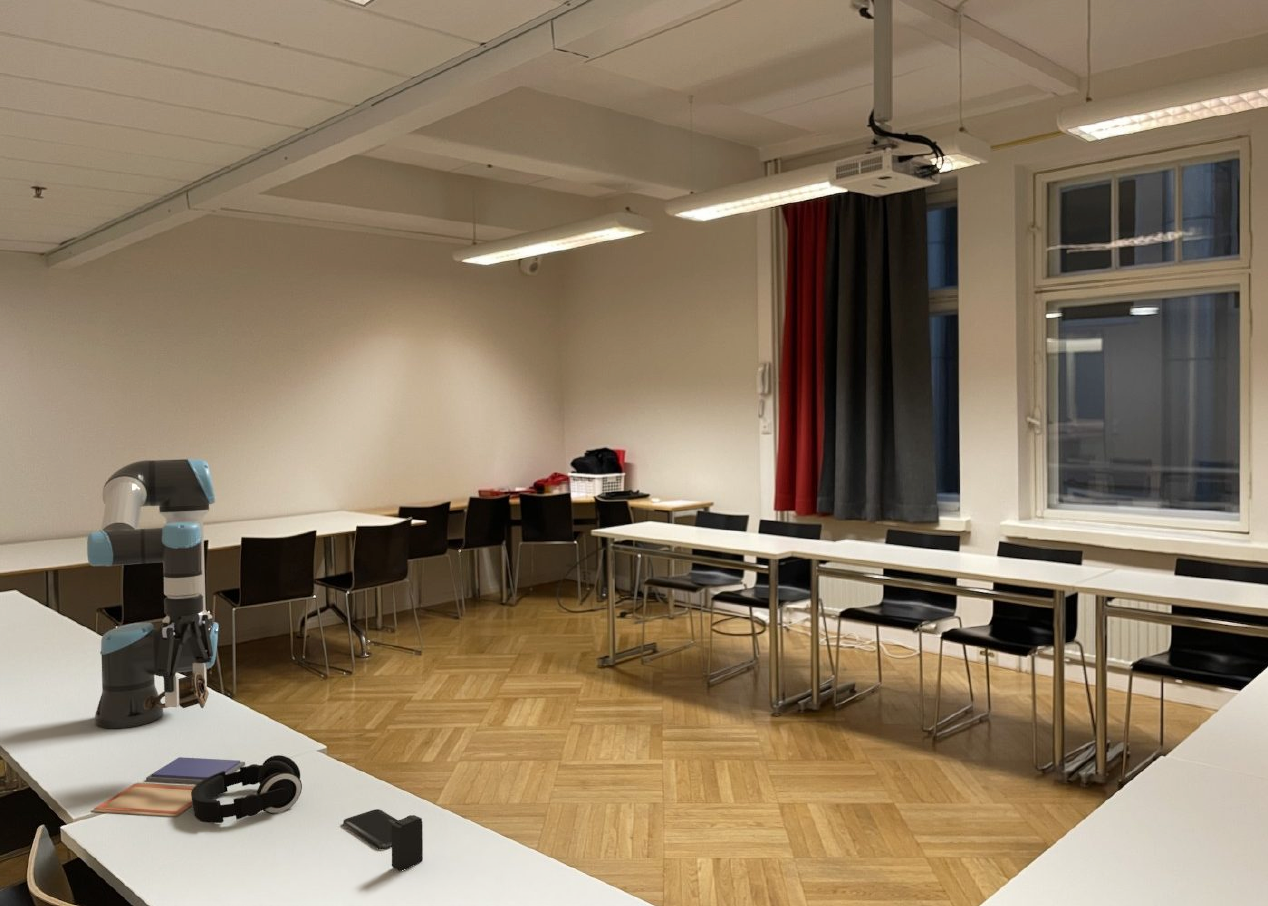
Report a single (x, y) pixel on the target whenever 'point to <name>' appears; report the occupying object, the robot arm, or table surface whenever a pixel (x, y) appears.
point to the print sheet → (149, 800)
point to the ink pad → (193, 770)
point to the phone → (372, 827)
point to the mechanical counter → (183, 693)
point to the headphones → (272, 795)
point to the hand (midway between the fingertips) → (186, 699)
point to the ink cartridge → (407, 842)
